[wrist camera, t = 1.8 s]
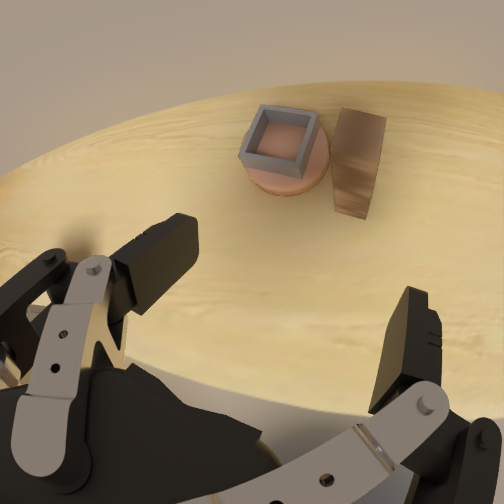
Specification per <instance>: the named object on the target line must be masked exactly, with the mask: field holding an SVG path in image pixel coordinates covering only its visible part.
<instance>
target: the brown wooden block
mask: <svg viewBox="0 0 504 504" xmlns="http://www.w3.org/2000/svg"><path fill="white" fill-rule="evenodd" d="M385 125H386V118H384V117H380V116H376V115H372V114H368V113H364V112H360V111H355V110H351V109H346V108H342V109H341V113H340V116H339V120H338V123H337V127H336V130H335V134H334V137H333V140H332V144H331V147H330V155H331V165H332V176H333V188H334V201H335V211H336V212H339V213H343V214H346V215H350V216H353V217H356V218H360V219H363V220H366V216H367V213H368V209H369V205H370V201H371V197H372V193H373V189H374V184H375V179H376V175H377V170H378V165H379V159H380V154H381V149H382V143H383V137H384V131H385Z"/></svg>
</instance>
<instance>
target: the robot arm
mask: <svg viewBox="0 0 504 504" xmlns="http://www.w3.org/2000/svg"><path fill="white" fill-rule="evenodd" d="M198 255H199V241H198V222H197V219H196V218H195V217H191V216H188V215H185V214H181V213H176V214H174V215H173V216H171V217H170V218H169V219H167V220H166V221H163V222H161V223H158V224H155V225H153V226H151V227H150V228H148V229H147V230H145V231H144V232H143V234H140V235H138V236H137V237H135V239H133V240H131V241H130V242H128V243H127V244H126V245H124V246H123V247H122V248H120V249H119V250H118V251H116V252H115V253H113V254H112V255H111V256H109V257H107V256H104V255H94V256H90V257H88V258H86V259H84V260H82V261H81V262H80V263H75V262H69V261H68V259H67V256H66V253H65V251H64V250H62V249H59V248H55V249H50V250H47V251H45V252H44V253H42V254H41V255H39V256H38V257H37V258H35V259H34V260H33V261H32V262H30V263H29V264H28V265H27V266H25V267H24V268H23V269H22V270H20V271H19V272H18V273H17V274H15V275H14V276H13V277H12V278H11V279H9V280H8V281H7V282H6V283H5V284H4V285H2V286H1V287H0V504H351V503H353V502H354V501H355V500H357V499H358V498H360V497H361V496H363V495H364V494H366V493H367V492H368V491H370V490H371V489H372V488H374V487H375V486H376V485H377V484H379V483H380V482H382V481H383V480H384V479H385V478H387V477H388V476H389V475H390V474H391V473H392V472H393V471H394V468H395V467H396V466H397V465H398V464H399V463H400V464H401V465H403V466H405V467H406V468H408V469H409V470H411V471H413V472H414V475H413V479H412V481H411V485H410V488H409V491H408V494H407V497H406V499H405V502H404V504H493V500H494V495H495V489H496V484H497V478H498V472H499V463H500V456H501V445H502V436H501V432H500V429H499V427H498V426H497V424H496V423H495V422H494V421H493V420H491V419H489V418H485V417H483V418H478V419H476V420H475V421H474V422H472V423H469V422H468V421H466V420H465V419H463V418H461V417H460V416H458V415H457V414H455V413H454V412H453V411H451V410H450V409H449V400H448V397H447V395H446V393H445V392H444V390H443V389H442V388H441V376H442V349H441V347H442V338H441V337H442V323H441V321H440V319H439V316H438V314H437V312H436V311H434V310H431V309H428V293H427V292H425V291H422V290H419V289H416V288H413V287H410V286H407V287H406V289H405V290H404V292H403V294H402V297H401V299H400V301H399V303H398V305H397V307H396V309H395V311H394V313H393V315H392V317H391V319H390V321H389V323H388V326H387V329H386V333H385V339H384V344H383V349H382V355H381V360H380V364H379V369H378V374H377V378H376V382H375V387H374V391H373V395H372V399H371V403H370V407H369V410H368V413H370V414H373V416H372V417H371V418H369V419H368V420H366V421H365V422H363V423H362V424H360V425H359V424H357V425H354V426H353V427H351V428H349V429H348V430H346V431H344V432H343V433H341V434H340V435H338V436H336V437H335V438H333V439H331V440H330V441H328V442H326V443H324V444H323V445H321V446H319V447H317V448H316V449H314V450H312V451H310V452H308V453H307V454H305V455H303V456H301V457H299V458H297V459H295V460H293V461H291V462H290V463H287V464H285V465H283V464H282V462H281V461H280V459H279V458H278V456H277V455H276V454H275V453H274V451H273V450H271V449H270V448H269V447H268V446H267V445H266V444H265V443H264V442H262V441H261V440H260V437H261V434H262V431H260V430H258V429H256V428H253V427H251V426H249V425H246V424H244V423H242V422H240V421H237V420H235V419H233V418H231V417H229V416H227V415H223V414H218V413H214V412H210V411H206V410H202V409H198V408H195V407H191V406H188V405H186V404H184V403H182V401H181V400H179V399H178V398H177V397H176V396H175V395H174V394H173V393H172V392H171V391H170V390H169V389H168V388H167V387H166V386H165V385H164V384H163V383H162V382H161V381H160V380H159V379H158V378H156V377H155V376H153V375H151V374H149V373H148V372H146V371H145V370H143V369H142V368H140V367H138V366H137V365H135V364H134V363H132V364H131V365H130V366H129V367H128V368H127V369H126V365H125V345H126V334H127V325H128V316H127V313H128V312H129V311H130V310H132V311H134V312H135V313H137V314H139V315H141V316H142V315H143V314H144V313H145V312H146V311H147V310H148V309H149V308H150V307H151V306H152V305H153V304H154V303H155V302H156V301H157V300H158V299H159V298H160V297H161V296H162V295H163V294H164V293H165V292H166V291H167V290H168V289H169V288H170V287H171V286H172V285H173V284H174V283H176V282H177V281H178V280H179V279H180V278H181V277H182V276H183V275H184V274H185V273H186V272H187V271H188V270H189V269H190V268H191V267H192V266H193V265H194V264H195V262H196V261H197V258H198ZM45 291H46V292H47V294H48V296H49V298H50V300H51V303H50V304H49V305H48V306H47V307H46V308H45V309H44V310H43V311H42V312H40V313H39V314H38V315H37V316H36V317H35V318H34V319H33V320H32V321H31V322H29V320H28V318H27V316H26V311H27V308H28V306H29V305H30V304H31V303H32V302H33V301H34V300H36V299H37V298H38V297H39V296H40V295H41V294H42V293H43V292H45ZM32 367H33V368H32ZM31 368H32V372H31V376H30V381H29V384H25V385H22V384H21V383H20V382H19V381H20V380H21V379H22V378H23V377H24V375H25V374H26V373H27V372H28V371H29V370H30V369H31Z"/></svg>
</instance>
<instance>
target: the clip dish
mask: <svg viewBox="0 0 504 504" xmlns="http://www.w3.org/2000/svg"><path fill="white" fill-rule="evenodd" d="M238 157H239V159H240V160H241V162H242V163H243V166H244V167H245V169H246V171H247V172H248V174H249V175H250V177H251V178H252V180H253V181H254V182H255V184H256V185H257V186H258V187H259V188H261V189H262V190H264V191H266V192H268V193H270V194H273V195H278V196H293V195H298V194H301V193H304V192H306V191H308V190H310V189H311V188H313V187H314V186H315V185H317V184H318V183H319V182H320V181H321V179H322V178H323V177H324V175H325V173H326V171H327V168H328V165H329V150H328V142H327V137H326V134H325V132H324V130H323V128H322V127H321V126H320V122H319V116H318V113H316V112H310V111H304V110H298V109H292V108H285V107H278V106H270V105H260V107H259V109H258V112H257V114H256V116H255V118H254V120H253V123H252V125H251V127H250V129H249V130H248V131H247V133H246V134H245V136H244V138H243V141H242V144H241V149H240V152H239V154H238Z"/></svg>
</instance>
